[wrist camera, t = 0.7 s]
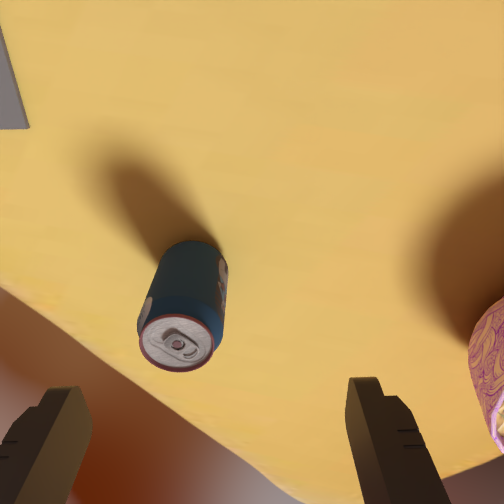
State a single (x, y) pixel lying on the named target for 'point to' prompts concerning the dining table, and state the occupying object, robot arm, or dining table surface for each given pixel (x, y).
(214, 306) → the soda can
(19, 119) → the mat
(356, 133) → the dining table surface
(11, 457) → the robot arm
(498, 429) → the bowl of food
